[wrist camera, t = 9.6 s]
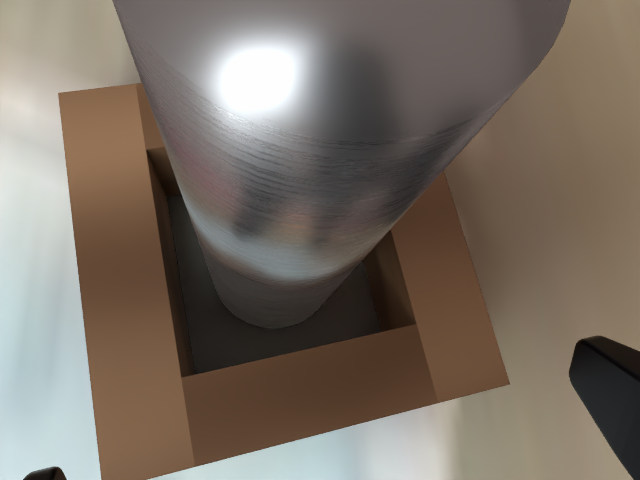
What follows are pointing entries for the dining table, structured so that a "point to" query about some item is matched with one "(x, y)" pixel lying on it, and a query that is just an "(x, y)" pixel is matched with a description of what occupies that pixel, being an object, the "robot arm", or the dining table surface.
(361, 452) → the dining table surface
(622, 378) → the robot arm
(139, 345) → the socket block
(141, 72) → the pin
